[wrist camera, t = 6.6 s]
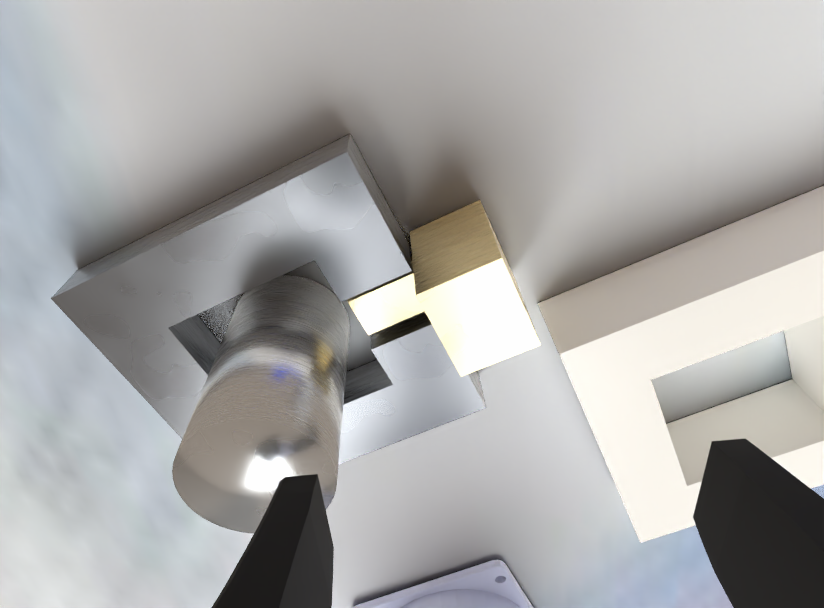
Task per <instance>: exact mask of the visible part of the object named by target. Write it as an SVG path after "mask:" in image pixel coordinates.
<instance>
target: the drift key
mask: <svg viewBox="0 0 824 608" xmlns="http://www.w3.org/2000/svg"><path fill="white" fill-rule="evenodd" d="M410 238H411V249H412V259H411V269H412V271H410V272H408V273H406V274H404V275H401V276H399V277H397V278H395V279H392V280H390V281H388V282H385V283H383V284H381V285H379V286H376V287H374V288H372V289H370V290H367V291H365V292H363V293H361V294H358V295H356V296H354V297H352V298H349V299H348V304H349V305H350V307H351V309H352V310H353V312H354V313H355V315H356V316H357V318H358V320H359V321H360V323H361V324H362V326H363V328H364V329H365V331H366V332H367V334H368V335H370V334H373V333H375V332H378V331H380V330H382V329H385V328H387V327H389V326H392V325H394V324H396V323H399V322H401V321H403V320H406V319H408V318H410V317H413V316H415V315H418V314H420V313H422V312H425V313H426V315H427V316H428V318H429V320H430V322H431V324H432V325H433V327H434V329H435V331H436V333H437V334H438V336H439V338H440V340H441V342H442V344H443V345H444V347H445V349H446V351H447V353H448V354H449V356H450V358H451V360H452V362H453V363H454V365H455V367H456V369H457V371H458V372H459V374H460V376H461V377H462V376H465V375H467V374H470V373H472V372H475V371H477V370H480V369H482V368H485V367H487V366H490V365H492V364H495V363H497V362H500V361H502V360H505V359H507V358H510V357H513V356H515V355H518V354H520V353H523V352H525V351H528V350H530V349H533V348H535V347H538V346H540V345H541V344H540V341H539V339H538V336H537V334H536V331H535V329H534V326H533V324H532V321H531V319H530V316H529V313H528V311H527V308H526V306H525V303H524V301H523V298H522V296H521V293H520V291H519V288H518V285H517V283H516V280H515V278H514V275H513V273H512V271H511V269H510V266H509V264H508V262H507V260H506V257H505V255H504V253H503V250H502V248H501V246H500V244H499V241H498V239H497V237H496V235H495V232H494V230H493V228H492V226H491V223H490V221H489V219H488V217H487V214H486V212H485V210H484V208H483V205H482V203H481V201H480V200H478V201H476V202H474V203H472V204H469V205H467V206H465V207H463V208H461V209H458V210H456V211H454V212H452V213H450V214H447V215H445V216H443V217H441V218H439V219H436V220H434V221H432V222H430V223H428V224H426V225H423V226H421V227H419V228H417V229H415V230H412V231H410Z"/></svg>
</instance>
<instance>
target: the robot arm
mask: <svg viewBox="0 0 824 608" xmlns="http://www.w3.org/2000/svg"><path fill="white" fill-rule="evenodd" d="M693 519H694V521H695V524H696V527H697V529H698V532H699V534H700V537H701V540H702V542H703V545H704V548H705V550H706V552H707V555H708V557H709V560H710V562H711V564H712V567H713V569H714V572H715V574H716V575H717V577H718V579H719V581H720V583H721V585H722V587H723V589H724V591H725V593H726V594H727V596H728V598H729V600H730V602H731V604H732V606H733V607H734V608H824V499H823V498H822V497H821V496H819V495H818V494H817V493H815V492H814V491H813V490H812V489H810V488H809V487H808V486H806V485H805V484H804V483H803V482H801V481H800V480H799V479H797V478H796V477H795V476H794V475H792V474H791V473H790V472H788V471H787V470H786V469H785V468H783V467H782V466H781V465H780V464H778V463H777V462H776V461H774V460H773V459H772V458H771V457H769V456H768V455H767V454H765V453H764V452H763V451H761V450H760V449H759V448H758V447H756V446H755V445H754V444H752V443H751V442H749V441H748V440H747V439H733V440H721V441H712V443H711V447H710V451H709V455H708V459H707V463H706V467H705V471H704V475H703V479H702V483H701V487H700V491H699V495H698V499H697V503H696V507H695V511H694V515H693ZM333 548H334V547H333V542H332V538H331V533H330V528H329V524H328V519H327V515H326V510H325V505H324V501H323V496H322V492H321V487H320V482H319V478H318V474H313V475H301V476H289V477H284V478H283V479H282V480H281V481H280V482H279V484H278V486H277V489H276V491H275V493H274V495H273V497H272V499H271V502H270V504H269V506H268V508H267V510H266V512H265V514H264V516H263V518H262V520H261V522H260V524H259V526H258V528H257V529H256V531H255V533H254V535H253V537H252V539H251V541H250V543H249V545H248V546H247V548H246V550H245V552H244V554H243V555H242V557H241V559H240V561H239V562H238V564H237V566H236V568H235V569H234V571H233V573H232V575H231V576H230V578H229V580H228V582H227V583H226V585H225V587H224V588H223V590H222V592H221V593H220V595H219V597H218V598H217V600H216V601H215V603H214V605H213V606H212V608H331V606H332V583H333ZM353 608H533V606H532V604H531V603H530V601H529V600H528V598H527V597H526V595H525V594H524V592H523V590H522V589H521V587H520V586H519V584H518V583H517V581H516V579H515V578H514V576H513V575H512V573H511V572H510V570H509V568H508V567H507V565H506V564H505V563H504V562H503V561H501V560H492V561H489V562H486V563H482V564H479V565H476V566H473V567H470V568H467V569H464V570H461V571H458V572H455V573H452V574H449V575H446V576H443V577H440V578H437V579H434V580H431V581H428V582H425V583H422V584H419V585H416V586H413V587H410V588H407V589H404V590H401V591H398V592H395V593H392V594H389V595H386V596H383V597H380V598H377V599H374V600H371V601H368V602H364V603H361V604H358V605H356V606H354V607H353Z"/></svg>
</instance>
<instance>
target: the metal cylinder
mask: <svg viewBox="0 0 824 608" xmlns="http://www.w3.org/2000/svg"><path fill="white" fill-rule="evenodd" d="M349 335H350V321H349V316H348V314H347V311H346V309H345V307H344V305H343V303H342V302H340V300H339V298H338V297H337V296H336V295H335V294H334V293H333V292H332V291H331V290H329V289H328V288H327V287H325V286H323V285H322V284H320V283H318V282H316V281H313V280H310V279H307V278H303V277H299V276H279V277H277V278H275V279H273V280H271V281H268V282H266V283H264V284H262V285H260V286H258V287H255V288H253V289H251V290H249V291H247V292H245V293H244V294H243V295H242V297H241V298H240V300H239V302H238V304H237V306H236V308H235V311H234V313H233V316H232V318H231V320H230V323H229V325H228V328H227V330H226V333H225V335H224V338H223V340H222V343H221V345H220V348H219V350H218V353H217V355H216V357H215V360H214V362H213V365H212V367H211V370H210V372H209V375H208V377H207V380H206V382H205V385H204V387H203V390H202V392H201V395H200V397H199V399H198V402H197V404H196V407H195V409H194V412H193V414H192V417H191V419H190V422H189V424H188V427H187V429H186V432H185V434H184V437H183V439H182V441H181V444H180V446H179V449H178V451H177V454H176V456H175V460H174V463H173V470H172V472H173V480H174V484H175V487H176V489H177V491H178V493H179V495H180V496H181V498H182V499H183V501H184V502H185V503H186V504H187V505H188V506H189V507H190V508H191V509H192V510H193V511H194V512H195V513H197V514H198V515H200V516H201V517H203V518H204V519H206V520H208V521H210V522H212V523H214V524H216V525H219V526H221V527H224V528H227V529H230V530H235V531H239V532H245V533H255V531H256V529H257V528H258V526H259V524H260V522H261V520H262V518H263V516H264V514H265V512H266V510H267V508H268V506H269V504H270V502H271V499H272V497H273V495H274V493H275V491H276V489H277V486H278V484H279V482H280V481H281V480H282V479H283V478H284V477H289V476H301V475H313V474H318V478H319V482H320V487H321V492H322V496H323V501H324V505H325V510H326V508H327V507H328V506H329V504H330V503H331V501H332V499H333V497H334V494H335V491H336V485H337V474H338V462H339V451H340V439H341V427H342V416H343V404H344V393H345V381H346V370H347V358H348V346H349Z"/></svg>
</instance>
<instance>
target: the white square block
mask: <svg viewBox="0 0 824 608" xmlns="http://www.w3.org/2000/svg"><path fill="white" fill-rule="evenodd" d="M537 304H538V306H539V308H540V311H541V313H542V315H543V318H544V320H545V323H546V325H547V327H548V330H549V332H550V334H551V337H552V339H553V341H554V344H555V346H556V348H557V351H558V353H559V355H560V358H561V360H562V362H563V364H564V367H565V369H566V371H567V374H568V376H569V378H570V381H571V383H572V385H573V388H574V390H575V392H576V395H577V397H578V399H579V402H580V404H581V406H582V409H583V411H584V413H585V416H586V418H587V420H588V423H589V425H590V427H591V429H592V432H593V434H594V436H595V439H596V441H597V443H598V446H599V448H600V450H601V453H602V455H603V457H604V460H605V462H606V464H607V467H608V469H609V471H610V474H611V476H612V478H613V481H614V483H615V485H616V487H617V490H618V492H619V494H620V497H621V499H622V501H623V504H624V506H625V508H626V511H627V513H628V515H629V518H630V520H631V522H632V525H633V527H634V529H635V532H636V534H637V536H638V539H639V541H640V543H642V542H645V541H648V540H651V539H655V538H658V537H661V536H664V535H667V534H670V533H673V532H676V531H680V530H683V529H686V528H689V527H692V526H695V525H696V524H695V521H694V519H693V515H694V511H695V507H696V503H697V499H698V495H699V491H700V487H701V483H702V479H703V475H704V471H705V467H706V463H707V459H708V455H709V451H710V447H711V443H712V441H721V440H733V439H747V440H748V441H749V442H751V443H752V444H754V445H755V446H756V447H758V448H759V449H760V450H761V451H763V452H764V453H765V454H767V455H768V456H769V457H771V458H772V459H773V460H774V461H776V462H777V463H778V464H780V465H781V466H782V467H783V468H785V469H786V470H787V471H788V472H790V473H791V474H792V475H794V476H795V477H796V478H797V479H799V480H800V481H801V482H803V483H804V484H805V485H806V486H808V487H809V488H810V489H811V488H814V487H817V486H820V485H823V484H824V186H821V187H819V188H816V189H814V190H812V191H809V192H807V193H804V194H802V195H799V196H797V197H795V198H792V199H790V200H787V201H785V202H782V203H780V204H778V205H775V206H773V207H770V208H768V209H765V210H763V211H761V212H758V213H756V214H753V215H751V216H748V217H746V218H744V219H741V220H739V221H736V222H734V223H731V224H729V225H727V226H724V227H722V228H719V229H717V230H714V231H712V232H710V233H707V234H705V235H702V236H700V237H697V238H695V239H693V240H690V241H688V242H685V243H683V244H680V245H678V246H676V247H673V248H671V249H668V250H666V251H663V252H661V253H659V254H656V255H654V256H651V257H649V258H646V259H644V260H642V261H639V262H637V263H634V264H632V265H629V266H627V267H625V268H622V269H620V270H617V271H615V272H613V273H610V274H608V275H605V276H603V277H600V278H598V279H596V280H593V281H591V282H588V283H586V284H583V285H581V286H579V287H576V288H574V289H571V290H569V291H566V292H564V293H562V294H559V295H557V296H554V297H552V298H549V299H547V300H545V301H542V302H540V303H537ZM782 331H784V334H785V340H786V345H787V351H788V357H789V362H790V368H791V374H792V379H791V380H789V381H786V382H783V383H780V384H777V385H774V386H772V387H769V388H766V389H763V390H760V391H758V392H755V393H752V394H749V395H746V396H744V397H741V398H738V399H735V400H732V401H730V402H727V403H724V404H721V405H718V406H715V407H713V408H710V409H707V410H704V411H701V412H699V413H696V414H693V415H690V416H687V417H685V418H682V419H679V420H676V421H673V422H671V423H668V424H666V422H665V419H664V416H663V413H662V410H661V407H660V404H659V401H658V399H657V396H656V393H655V390H654V387H653V384H652V381H651V380H653V379H655V378H658V377H661V376H663V375H666V374H669V373H672V372H674V371H677V370H680V369H682V368H685V367H688V366H690V365H693V364H696V363H698V362H701V361H704V360H706V359H709V358H712V357H715V356H717V355H720V354H723V353H725V352H728V351H731V350H733V349H736V348H739V347H741V346H744V345H747V344H750V343H752V342H755V341H758V340H760V339H763V338H766V337H768V336H771V335H774V334H776V333H779V332H782Z"/></svg>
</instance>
